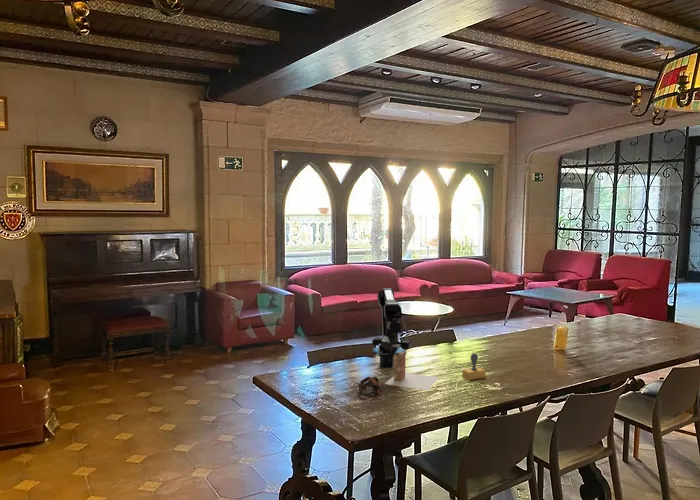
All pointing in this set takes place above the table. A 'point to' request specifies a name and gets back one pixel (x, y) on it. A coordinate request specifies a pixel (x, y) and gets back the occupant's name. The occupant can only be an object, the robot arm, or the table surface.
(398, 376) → the oak tile
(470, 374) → the rubber stamp
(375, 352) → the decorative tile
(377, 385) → the brown arched piece
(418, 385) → the grey rubber mat
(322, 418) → the table surface
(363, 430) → the table surface
